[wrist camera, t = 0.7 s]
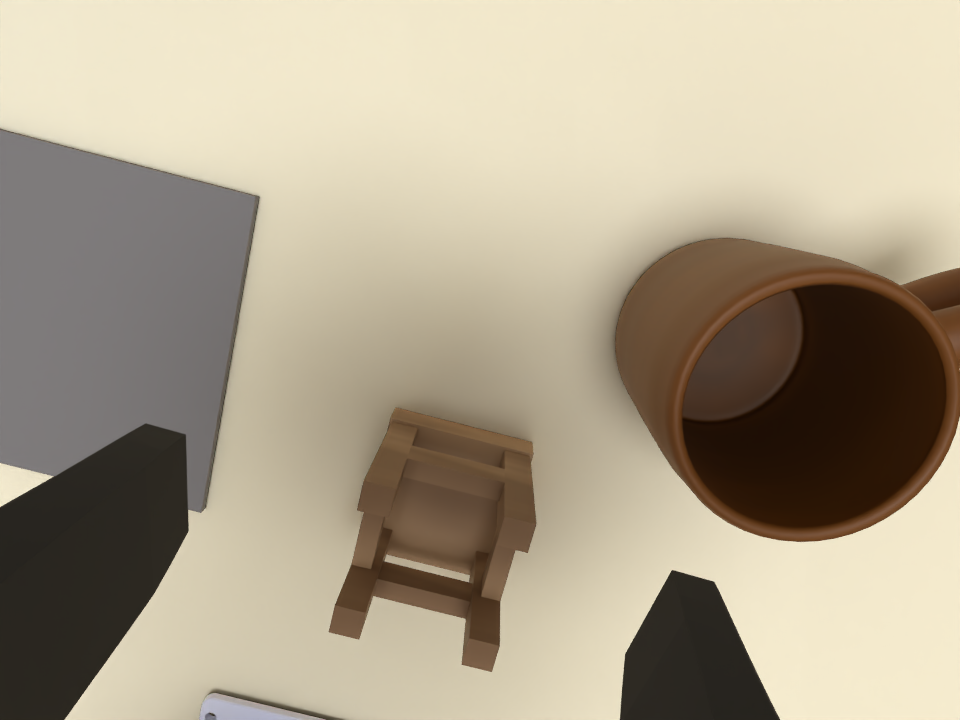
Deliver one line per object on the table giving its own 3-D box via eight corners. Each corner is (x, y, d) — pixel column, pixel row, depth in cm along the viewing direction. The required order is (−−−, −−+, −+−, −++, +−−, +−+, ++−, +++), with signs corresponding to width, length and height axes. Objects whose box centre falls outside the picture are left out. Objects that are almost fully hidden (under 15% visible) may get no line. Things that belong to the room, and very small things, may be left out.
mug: (900, 155, 25) (1124, 138, 16) (951, 349, 27) (1181, 433, 18) (582, 280, 27) (621, 330, 18) (648, 457, 28) (716, 587, 19)
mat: (205, 508, 29) (201, 512, 29) (-105, 431, 29) (-114, 434, 29) (259, 196, 26) (255, 196, 26) (-88, 106, 26) (-97, 105, 26)
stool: (496, 563, 30) (493, 675, 23) (366, 531, 30) (325, 633, 23) (532, 441, 28) (540, 522, 22) (395, 406, 28) (361, 477, 21)
